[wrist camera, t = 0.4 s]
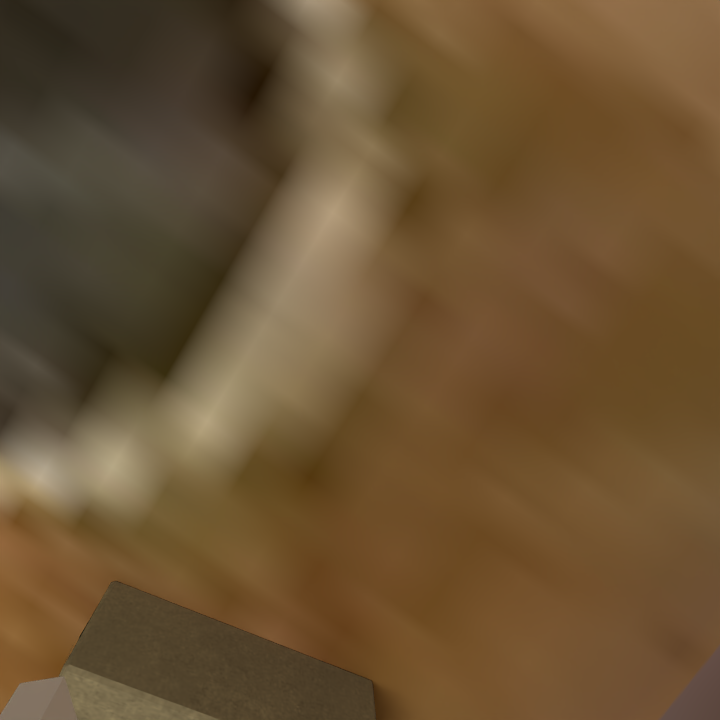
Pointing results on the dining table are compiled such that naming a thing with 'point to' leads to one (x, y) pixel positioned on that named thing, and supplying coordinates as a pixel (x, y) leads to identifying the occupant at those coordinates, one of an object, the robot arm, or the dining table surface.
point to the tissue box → (198, 669)
